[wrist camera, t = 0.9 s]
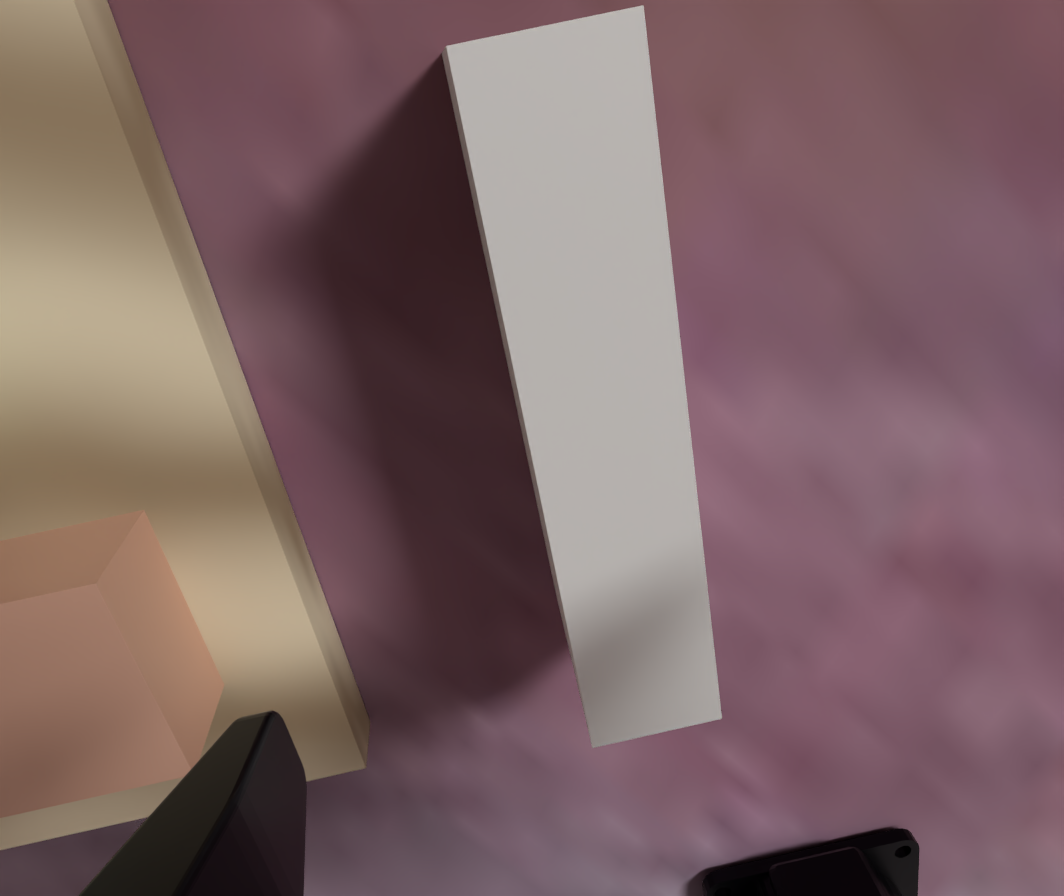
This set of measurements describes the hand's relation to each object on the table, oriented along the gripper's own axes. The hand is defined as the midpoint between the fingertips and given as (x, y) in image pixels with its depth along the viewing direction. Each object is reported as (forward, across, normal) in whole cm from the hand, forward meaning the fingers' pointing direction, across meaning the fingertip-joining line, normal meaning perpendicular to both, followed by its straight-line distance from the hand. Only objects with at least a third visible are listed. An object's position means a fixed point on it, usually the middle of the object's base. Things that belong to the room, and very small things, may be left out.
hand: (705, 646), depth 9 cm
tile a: (+8, +11, +3) cm, 14 cm away
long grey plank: (+10, 0, 0) cm, 10 cm away
